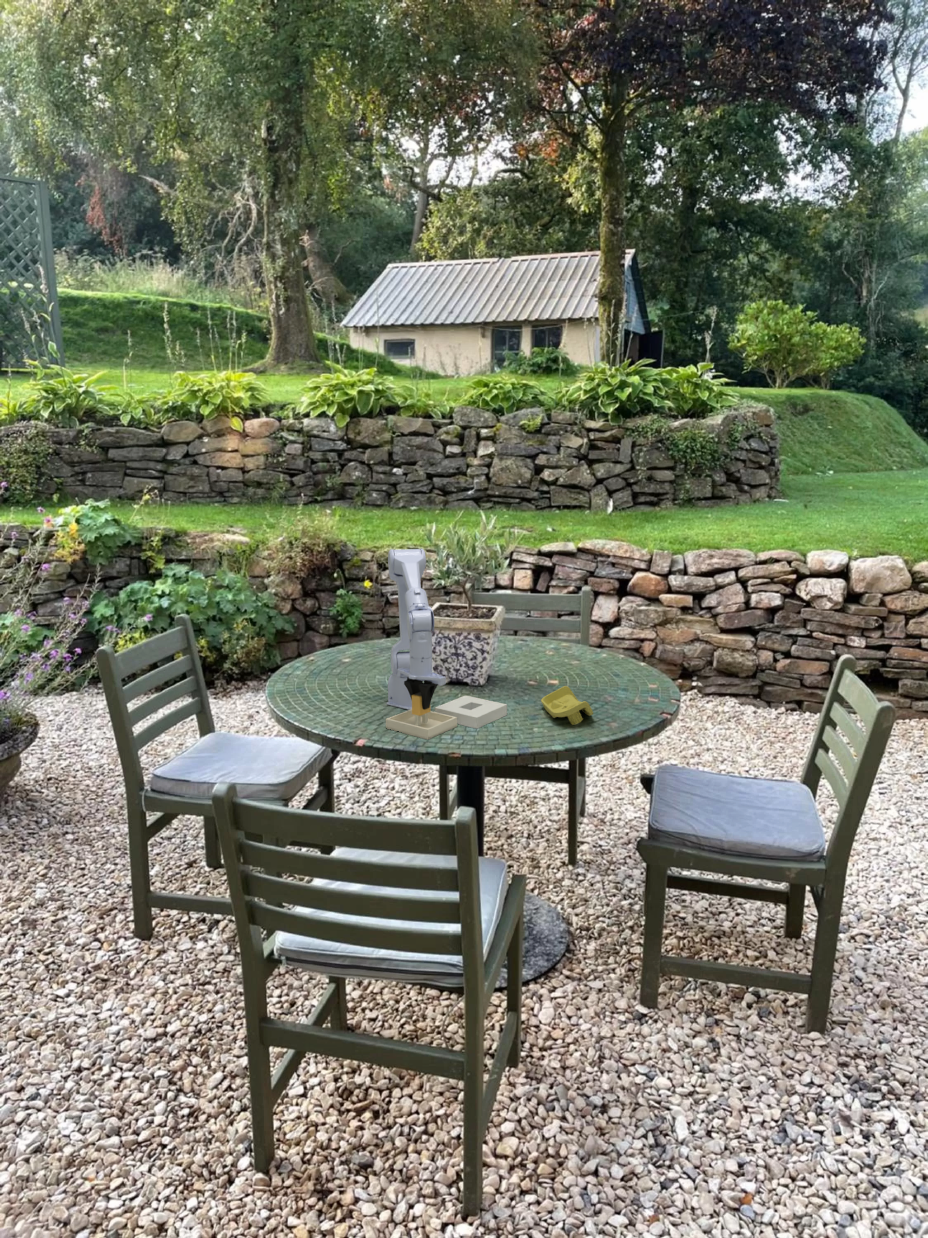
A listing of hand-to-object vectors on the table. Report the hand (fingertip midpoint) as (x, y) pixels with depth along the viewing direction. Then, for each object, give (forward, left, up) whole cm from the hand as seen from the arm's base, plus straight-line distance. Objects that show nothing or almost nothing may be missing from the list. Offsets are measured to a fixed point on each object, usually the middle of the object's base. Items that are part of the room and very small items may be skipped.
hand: (421, 707), depth 213 cm
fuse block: (+5, +15, -6) cm, 17 cm away
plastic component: (+26, +31, -6) cm, 40 cm away
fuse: (0, 0, -4) cm, 4 cm away
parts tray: (0, 0, -6) cm, 6 cm away
